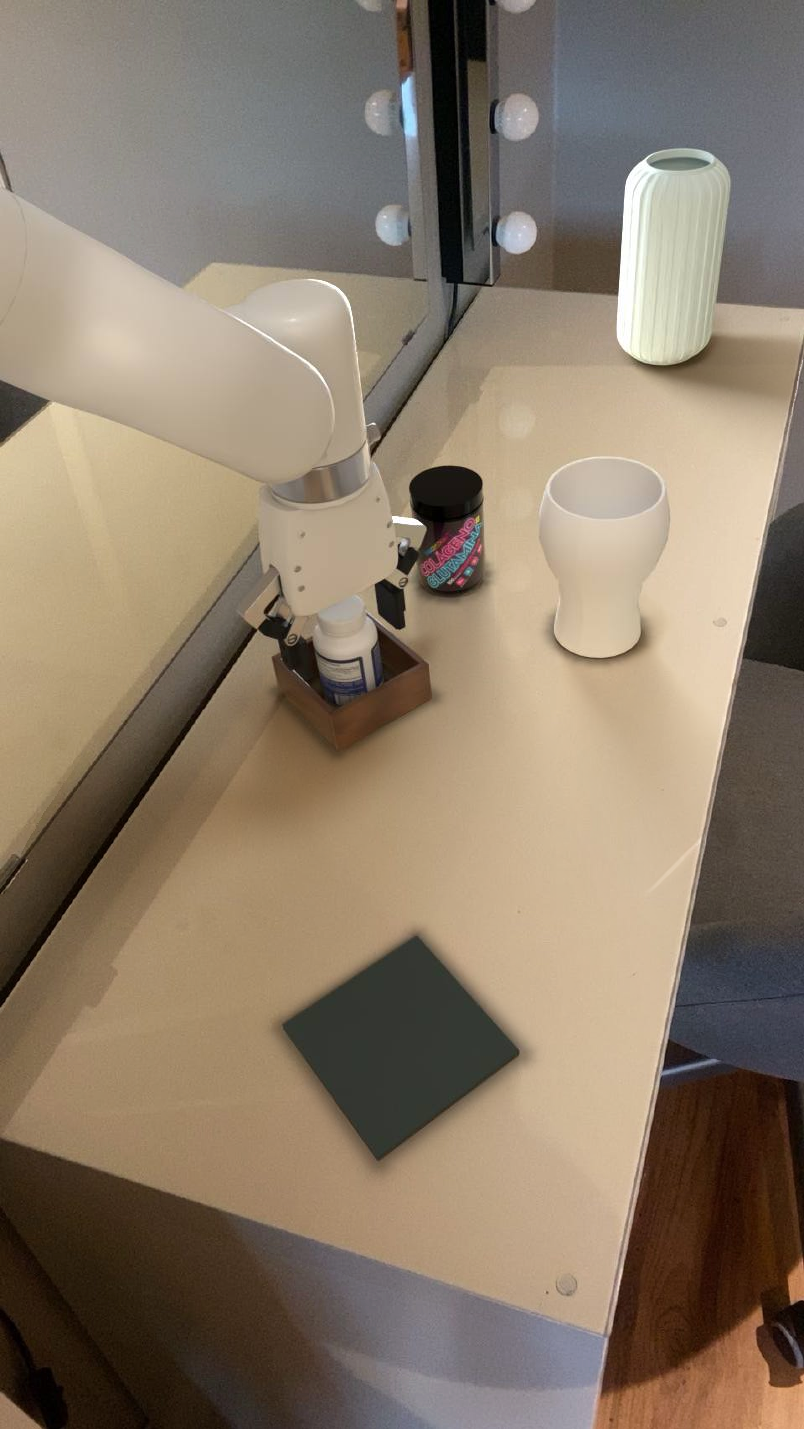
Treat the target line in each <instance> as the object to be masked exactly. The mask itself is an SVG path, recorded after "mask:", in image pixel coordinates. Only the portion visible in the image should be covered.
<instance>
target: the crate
mask: <svg viewBox="0 0 804 1429" xmlns="http://www.w3.org/2000/svg"><path fill="white" fill-rule="evenodd" d="M365 611H366V616H367V617H369V618H370V619H371V620H372V621H373V623H374V624H375V626H376V630H377V635H378V641H379V648H380V655H381V662H382V664H384V665H385V666H386V667H387V668H389V669H390V671H392V672H393V673H394V674H395V675H396V676H395V677H393V678H391V679H389V680H387V681H384V683H383V684H382V685H380V686H378V687H376V688H374V689H373V690H371V691H369V692H367V693H365V694H363V695H362V696H360V697H358V698H356V699H354V700H353V701H351V702H349V703H347V704H345V705H343V706H342V707H340V708H338V709H336V710H334V709H333V708H332V707H331V706H330V705H329V704H328V703H327V702H326V701H325V699H324V698H323V697H322V696H321V695H319V694H318V692H316V691H315V689H314V688H312V687H311V685H309V684H308V682H307V681H309V680H311V679H313V678H315V677H316V676H319V670H318V665H317V659H316V655H315V650H314V644H313V635H311V636H309V637H307V638H304V639H305V640H306V642H307V645H308V651H309V656H310V661H311V666H312V671H313V675H312V677H311V678H309V679H307V680H305V679H304V678H303V677H302V676H301V675H300V674H299V673H298V672H297V671H296V670H295V669H294V670H292V671H291V670H289V669H288V668H287V667H286V665H285V664H284V662H283V660H282V656H281V652H278V653H276V654H274V655H272V656H271V662H272V666H273V668H274V669H273V671H274V674H275V679H276V683H277V688H278V691H279V692H280V693H281V694H282V695H283V696H284V697H285V699H287V701H289V703H290V704H292V705H293V706H294V707H295V708H296V709H297V710H298V712H299V713H300V714H301V715H302V716H304V718H305V719H307V721H308V723H310V724H311V725H312V726H313V727H314V728H315V729H316V731H318V733H320V734H321V735H322V736H323V737H324V738H325V740H327V741H328V742H329V743H330V745H331V746H333V747H334V749H336V751H338V752H340V751H342V750H343V749H345V748H347V747H349V746H351V745H353V744H354V743H355V742H357V741H359V740H361V739H363V738H364V737H366V736H368V735H370V734H372V733H374V732H375V731H377V730H378V729H381V728H382V727H384V726H386V725H387V724H390V723H391V722H393V721H394V720H396V719H398V718H400V717H402V716H403V715H405V714H407V713H409V712H411V711H412V710H414V709H416V708H417V707H419V706H421V705H423V704H424V703H426V702H428V701H430V700H432V699H433V694H432V683H431V670H430V663H428V662H427V661H426V660H425V659H424V658H422V656H420V655H419V654H418V653H417V652H416V651H414V650H413V649H412V648H411V647H410V646H408V644H406V643H405V642H404V641H402V640H401V639H400V638H399V637H398V636H396V635H395V634H394V633H393V632H392V631H391V630H390V629H388V628H387V627H386V626H385V625H383V624H382V623H381V622H380V621H378V619H377V618H375V617H374V616H372V615H371V614H370V613H369V612H368V611H367V610H366V609H365Z"/></svg>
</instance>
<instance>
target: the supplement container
mask: <svg viewBox="0 0 804 1429" xmlns="http://www.w3.org/2000/svg"><path fill="white" fill-rule="evenodd" d="M408 492H409V493H408V494H409V506H410V511H411V519H416V520H417V521H419V522H420V523H422V524H423V525H424V526H426V533H425V536H424V538H423V541H422V544H421V546H420V548H418V553H419V557H418V559H417V561H416V562H415V564H416V575H417V576H416V577H417V580H418V582H419V583H420V584H421V586H422V587H423V588H424V589H426V590H427V591H429V592H431V593H433V594H435V595H439V596H445V597H454V596H460V595H464V594H465V595H466V594H467V593H469V592H471V591H473V590H474V589H476V588H477V587H478V586H480V584H481V583H482V582H483V580H484V578H485V575H486V572H487V571H486V567H487V566H486V544H485V542H486V541H485V512H484V500H485V496H484V481H483V479H482V476H481V475H480V474H479V473H477V472H476V470H473V469H471V468H468V467H465V466H460V465H452V464H449V465H438V466H434V467H430V468H427V469H424V470H422V471H421V472H419V473H418V474H416V475H415V476H414V477H413V478H411V480H410V482H409V485H408Z"/></svg>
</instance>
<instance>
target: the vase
mask: <svg viewBox="0 0 804 1429" xmlns="http://www.w3.org/2000/svg"><path fill="white" fill-rule="evenodd" d="M731 181H732V180H731V176H730V173H729V170H728V168H727V167H726V165H725V164H724V163H723V162H722V161H721V160H719V158H717V157H716V156H715V155H714V154H712V153H711V152H708V151H706V150H702V149H697V148H686V147H685V148H683V147H681V148H669V149H663V150H659V151H656V152H653V153H651V154H649V155H648V156H647V157H645V159H643V160H642V161H640V162H639V163H638V164H636V166H635V167H634V168H633V169H632V170H631V172H630V173H629V174H628V177H627V179H626V182H625V186H624V187H625V188H624V202H623V218H622V219H623V220H622V234H621V235H622V236H621V252H620V268H619V272H620V273H619V284H618V285H619V286H618V303H617V317H616V318H617V319H616V337H617V340H618V343H619V345H620V346H621V348H622V349H623V350H624V351H625V352H626V353H627V354H628V355H630V356H631V357H633V359H635V360H636V361H639V362H641V363H644V364H648V365H653V366H672V365H676V364H680V363H683V362H685V361H687V360H690V359H691V358H693V357H695V356H696V355H698V354H699V353H700V352H701V351H703V349H704V348H705V347H706V346H707V345H708V343H709V342H710V340H711V337H712V333H713V327H714V320H715V312H716V303H717V296H718V288H719V282H720V273H721V265H722V256H723V249H724V241H725V234H726V225H727V218H728V210H729V203H730V202H729V201H730V194H731V185H732V184H731V183H732V182H731Z"/></svg>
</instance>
